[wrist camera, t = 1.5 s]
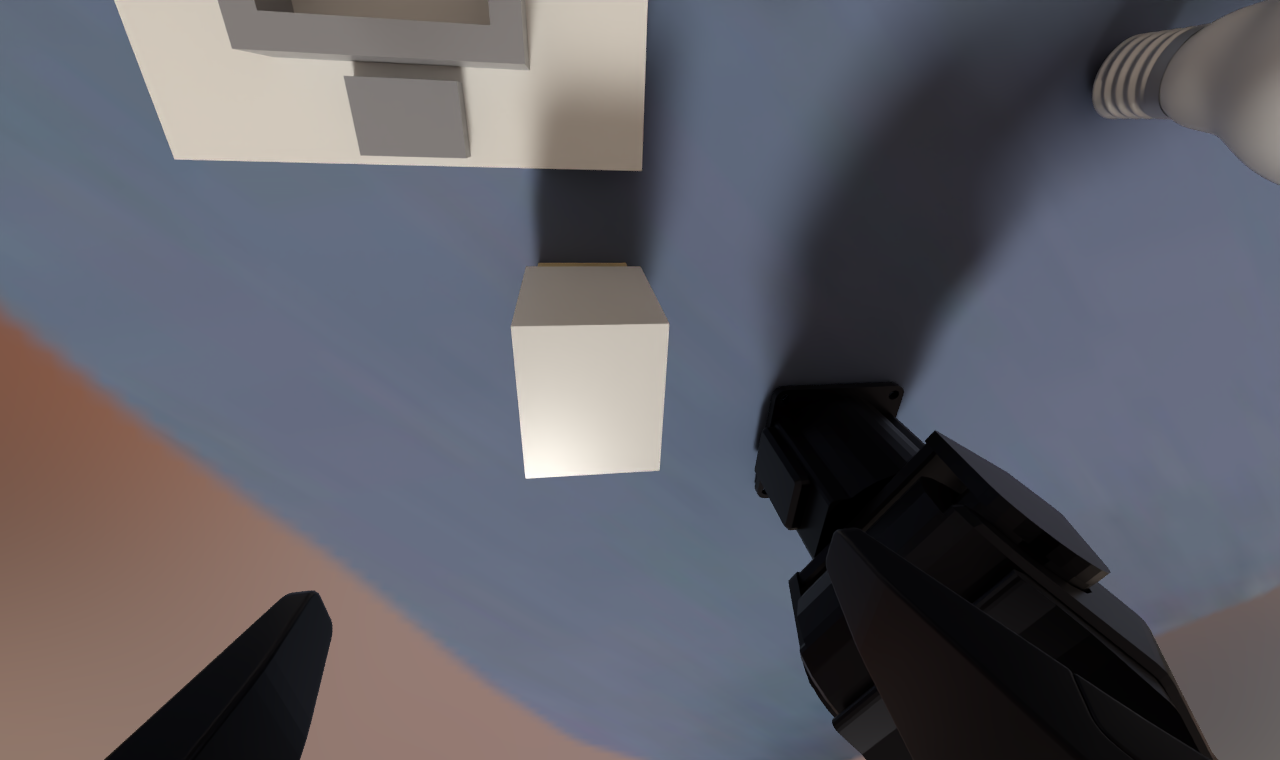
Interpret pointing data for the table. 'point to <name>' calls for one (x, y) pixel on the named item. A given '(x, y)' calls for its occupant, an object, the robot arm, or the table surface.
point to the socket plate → (397, 80)
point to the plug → (589, 369)
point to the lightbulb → (1205, 82)
